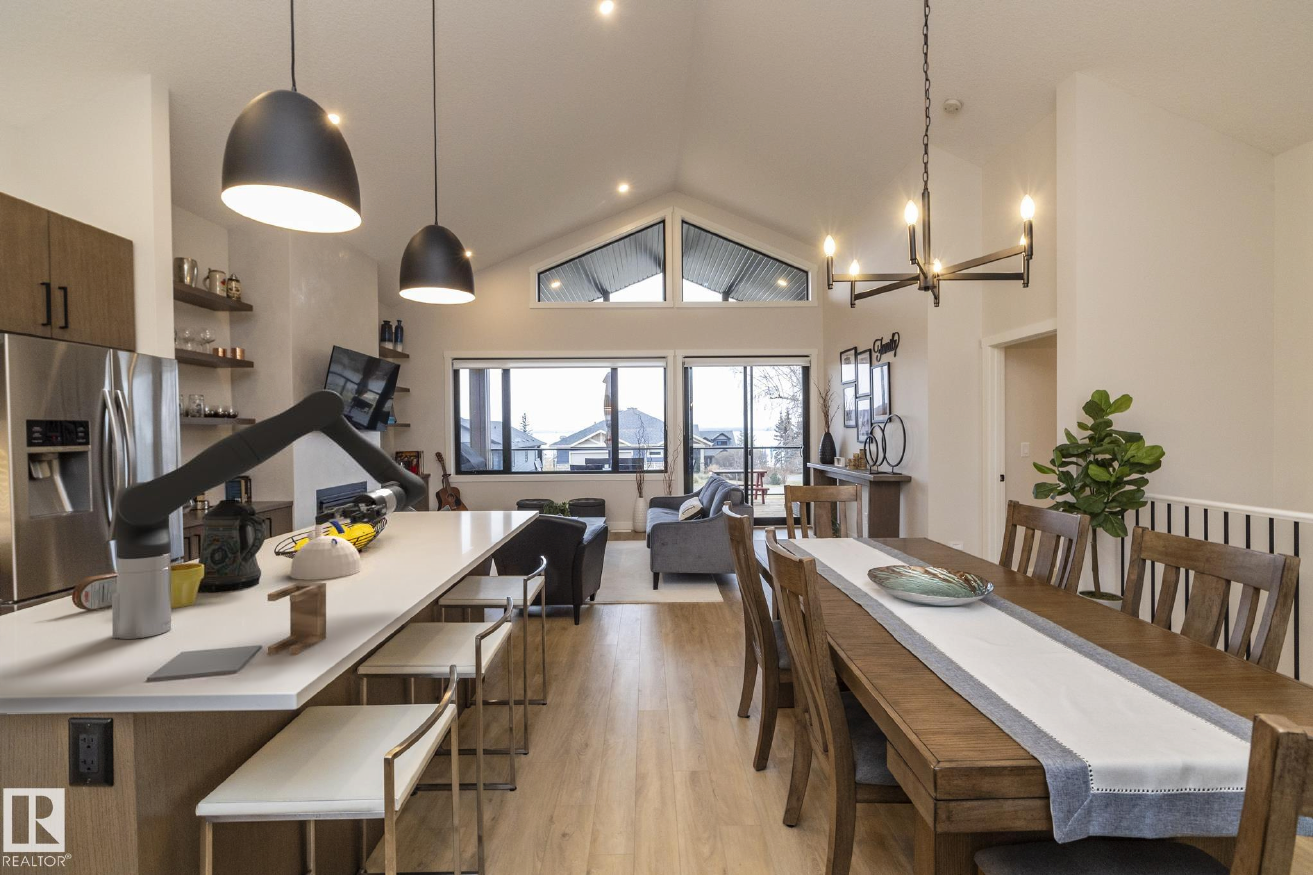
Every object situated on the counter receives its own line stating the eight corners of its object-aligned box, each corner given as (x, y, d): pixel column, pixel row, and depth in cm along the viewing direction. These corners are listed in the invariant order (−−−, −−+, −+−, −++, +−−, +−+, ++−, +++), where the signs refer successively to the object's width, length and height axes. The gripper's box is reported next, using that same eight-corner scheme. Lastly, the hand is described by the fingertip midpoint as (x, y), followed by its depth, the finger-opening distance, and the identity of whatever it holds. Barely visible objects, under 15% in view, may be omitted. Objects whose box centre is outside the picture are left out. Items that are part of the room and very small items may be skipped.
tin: (140, 598, 166) (140, 567, 166) (148, 600, 165) (148, 568, 165) (70, 613, 152) (70, 579, 152) (78, 615, 151) (78, 580, 151)
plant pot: (211, 602, 162) (211, 565, 162) (163, 612, 153) (163, 572, 153) (193, 597, 168) (193, 561, 168) (146, 606, 159) (146, 568, 159)
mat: (146, 681, 110) (146, 677, 110) (181, 654, 124) (181, 651, 124) (237, 672, 114) (237, 669, 114) (261, 647, 128) (261, 644, 128)
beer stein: (206, 581, 186) (206, 498, 186) (279, 577, 191) (279, 496, 191) (181, 595, 170) (180, 504, 170) (261, 590, 175) (261, 501, 175)
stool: (299, 637, 134) (299, 582, 134) (326, 638, 134) (326, 582, 134) (267, 654, 124) (267, 594, 124) (296, 654, 124) (296, 594, 124)
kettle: (341, 563, 212) (341, 510, 212) (374, 571, 200) (374, 515, 200) (277, 574, 196) (277, 517, 196) (309, 583, 184) (309, 522, 184)
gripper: (346, 491, 159) (303, 505, 143) (399, 489, 157) (361, 503, 141) (349, 520, 159) (307, 537, 143) (402, 518, 158) (365, 535, 142)
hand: (334, 520), depth 142 cm, fingers open, 8 cm apart
